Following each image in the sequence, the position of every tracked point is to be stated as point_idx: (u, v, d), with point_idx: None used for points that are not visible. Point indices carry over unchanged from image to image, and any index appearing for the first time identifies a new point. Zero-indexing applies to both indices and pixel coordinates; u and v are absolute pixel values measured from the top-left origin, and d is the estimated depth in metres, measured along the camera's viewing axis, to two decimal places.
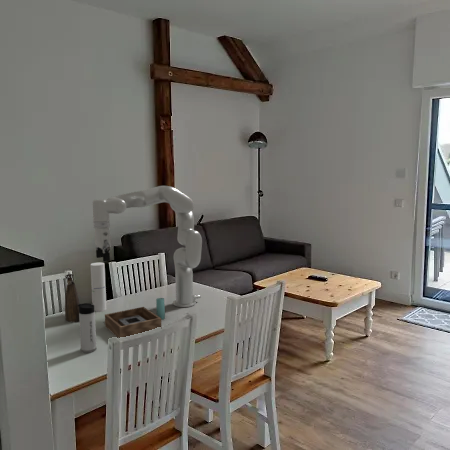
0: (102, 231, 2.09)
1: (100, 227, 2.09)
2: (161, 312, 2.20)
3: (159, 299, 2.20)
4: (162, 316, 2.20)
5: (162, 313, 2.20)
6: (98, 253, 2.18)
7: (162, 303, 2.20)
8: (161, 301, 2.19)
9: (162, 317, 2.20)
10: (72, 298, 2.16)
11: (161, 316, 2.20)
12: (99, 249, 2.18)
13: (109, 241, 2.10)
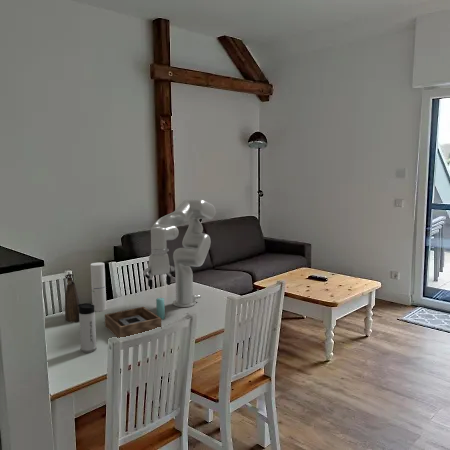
0: None
1: (166, 253, 2.18)
2: (161, 312, 2.20)
3: (159, 299, 2.20)
4: (162, 316, 2.20)
5: (162, 313, 2.20)
6: None
7: (162, 303, 2.20)
8: (161, 301, 2.19)
9: (162, 317, 2.20)
10: (72, 298, 2.16)
11: (161, 316, 2.20)
12: None
13: None
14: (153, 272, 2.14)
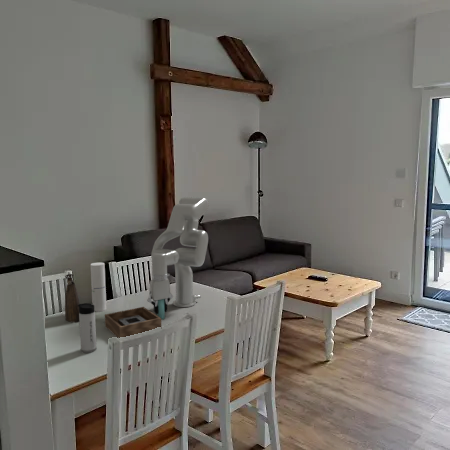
0: (168, 281, 2.21)
1: (167, 278, 2.20)
2: (161, 312, 2.20)
3: None
4: (162, 316, 2.20)
5: (162, 313, 2.20)
6: None
7: (162, 303, 2.20)
8: (161, 301, 2.19)
9: (162, 317, 2.20)
10: (72, 298, 2.16)
11: (161, 316, 2.20)
12: (156, 304, 2.20)
13: None
14: (154, 297, 2.16)
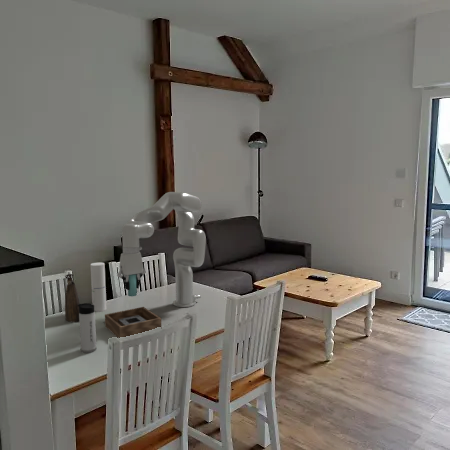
0: None
1: (139, 251, 2.04)
2: (132, 288, 2.04)
3: None
4: (133, 293, 2.04)
5: (134, 289, 2.04)
6: None
7: (134, 278, 2.04)
8: (132, 276, 2.03)
9: (134, 294, 2.05)
10: (72, 298, 2.16)
11: (132, 292, 2.04)
12: (127, 279, 2.04)
13: None
14: (124, 272, 2.01)
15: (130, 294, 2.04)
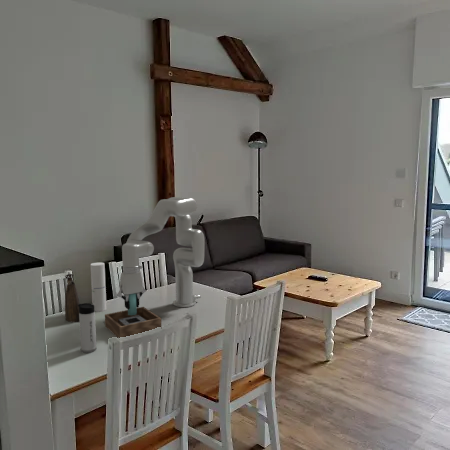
0: None
1: (139, 271, 2.05)
2: (132, 307, 2.05)
3: None
4: (133, 312, 2.05)
5: (134, 308, 2.05)
6: None
7: (133, 298, 2.05)
8: (132, 295, 2.04)
9: (134, 313, 2.06)
10: (72, 298, 2.16)
11: (132, 311, 2.05)
12: (127, 298, 2.05)
13: None
14: (124, 291, 2.02)
15: (130, 313, 2.05)
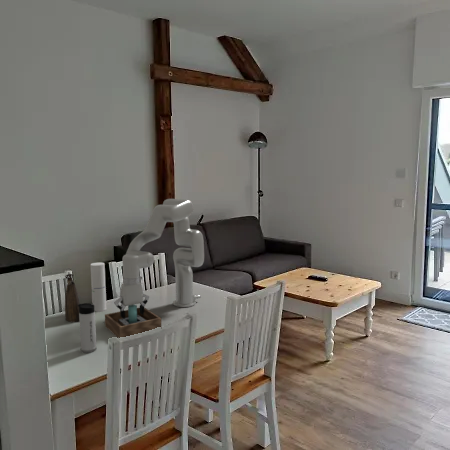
0: (141, 285, 2.07)
1: (139, 282, 2.06)
2: (133, 320, 2.06)
3: (131, 306, 2.07)
4: None
5: (134, 321, 2.06)
6: None
7: (134, 310, 2.06)
8: (133, 308, 2.05)
9: None
10: (72, 298, 2.16)
11: None
12: None
13: None
14: (125, 302, 2.03)
15: None
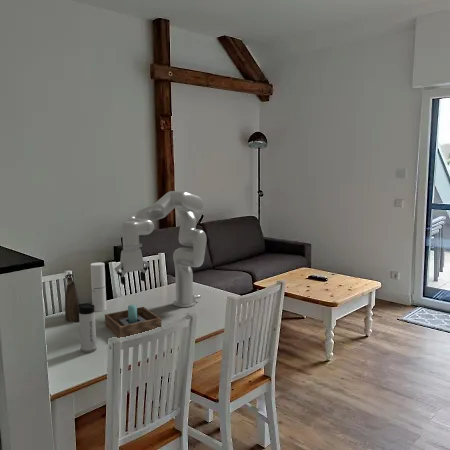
0: (141, 252, 2.08)
1: None
2: (133, 320, 2.06)
3: (131, 306, 2.07)
4: None
5: (134, 321, 2.06)
6: None
7: (134, 310, 2.06)
8: (133, 308, 2.05)
9: None
10: (72, 298, 2.16)
11: None
12: None
13: None
14: (125, 269, 2.03)
15: None
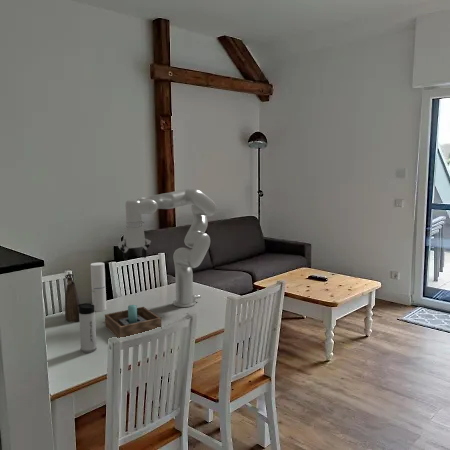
0: None
1: (141, 226, 2.18)
2: (133, 320, 2.06)
3: (131, 306, 2.07)
4: None
5: (134, 321, 2.06)
6: None
7: (134, 310, 2.06)
8: (133, 308, 2.05)
9: None
10: (72, 298, 2.16)
11: None
12: None
13: None
14: (128, 245, 2.15)
15: None
